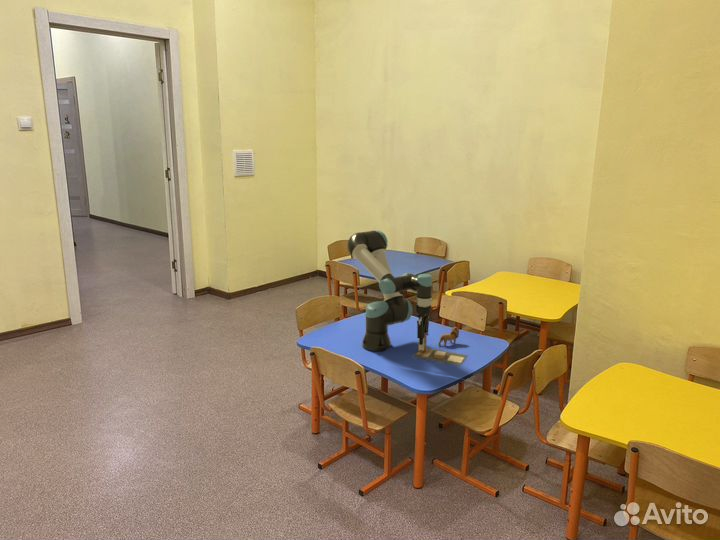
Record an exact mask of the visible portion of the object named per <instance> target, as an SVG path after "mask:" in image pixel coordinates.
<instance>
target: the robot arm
mask: <svg viewBox="0 0 720 540" xmlns="http://www.w3.org/2000/svg"><path fill="white" fill-rule="evenodd" d="M388 245H389V243H388V238H387V236H386V234H385V232H383V231H381V230H370V231H363V232H355V233H353V234H352V235H351V236H350V237H349V238H348V241H347V245H346V246H347V251H348V253H349V255H350V256H351V257H352V258H353V259H354V260H358V262H359V263H360V264H361V265H362V266H363V267H364V268H365V269H366V270H367V271H368V272H369V274H371V276H372V277H373V278H374V279H375V280H376V281H377V282H378V285H379V290H380V292H381V293H382V296H383V298H384V299H383V301H381V300H380V301H378V300H377V301H373V302H372V301H371V302H370V303H369V304H367V306H366V308H365V334H364V336H363V339H362V345H361V346H362V348H363V349H365V350H367V351H371V352H385V351H387V350H389V349H390V348H391V345H392V342H391V337H390V336H389V330H388V329H389V326H391V325H392V326H393V325H397V324H402V323H404V322H407V321H409V320H411V317H412V314H413V305H412V303H411V302H410V300H408V299H406V298H405V297H404V295H403V294H402V293H400V292H405V291H410V290H412V291H414V292H416V301H415V302H416V304H415V306H416V309H415V310H416V313H417V314H419V315H418V320H417V321H416V325H417V327H416V328H417V331H416V333H417V334H416V335H417V336H416V337H417V339H418V350H423V351H424V332H426V333H427V336H429V326H430V314H431V313H432V302H433V299H432V298H433V276H432V275H431V274H429V273H421V274H418V275H415V274H413V273H411V272H410V273H409V272H405V273H403V274H402V275H400V276H394V275H393V273H392V272H393V271H392V269H391V267H390V264H389V262H388V259H387V256H386V252H387V248H388ZM427 338H428V337H426V342H427V340H428V339H427ZM418 350H417V351H418Z"/></svg>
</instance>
